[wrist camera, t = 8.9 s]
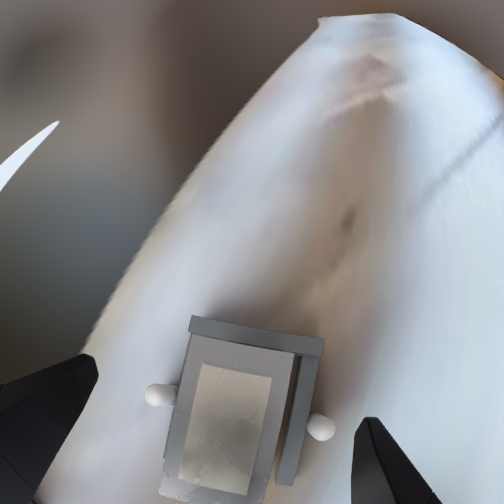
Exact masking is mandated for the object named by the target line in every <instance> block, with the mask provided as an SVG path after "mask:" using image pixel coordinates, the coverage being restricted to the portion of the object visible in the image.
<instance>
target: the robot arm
mask: <svg viewBox="0 0 504 504" xmlns="http://www.w3.org/2000/svg"><path fill="white" fill-rule="evenodd" d="M98 376H99V374H98V370H97V366H96V362H95V359H94V358H93V357H92V356H90V355H87V354H80V355H78V356H75V357H73V358H70V359H67V360H65V361H62V362H60V363H58V364H55V365H52V366H49V367H47V368H44V369H42V370H39V371H37V372H34V373H31V374H28V375H26V376H23V377H20V378H18V379H15V380H12V381H10V382H7V383H4V385H3V384H1V385H0V504H30V502H31V500H32V498H33V496H34V494H35V492H36V490H37V488H38V487H39V485H40V483H41V481H42V479H43V477H44V476H45V474H46V472H47V470H48V468H49V467H50V465H51V463H52V461H53V460H54V458H55V456H56V454H57V453H58V451H59V449H60V448H61V446H62V444H63V443H64V441H65V439H66V438H67V436H68V434H69V433H70V431H71V429H72V428H73V426H74V424H75V423H76V421H77V419H78V418H79V416H80V414H81V413H82V411H83V409H84V407H85V405H86V403H87V401H88V399H89V397H90V394H91V392H92V390H93V388H94V386H95V384H96V382H97V380H98ZM351 504H442V502H441V501H440V500H439V499H438V497H437V496H436V495H435V493H434V492H432V489H431V488H430V487H429V485H428V484H427V483H426V481H425V480H424V479H423V477H422V476H421V475H420V473H419V472H418V471H417V469H416V468H415V467H414V465H413V464H412V463H411V461H410V460H409V459H408V457H407V456H406V455H405V453H404V452H403V451H402V449H401V448H400V447H399V445H398V444H397V443H396V441H395V440H394V439H393V437H392V436H391V435H390V433H389V432H388V431H387V429H386V428H385V427H384V425H383V424H382V423H381V421H380V420H379V419H378V418H377V417H365V418H364V419H363V421H362V422H361V424H360V426H359V427H358V429H357V431H356V433H355V437H354V449H353V461H352V472H351Z"/></svg>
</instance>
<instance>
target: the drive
mask: <svg viewBox="0 0 504 504" xmlns="http://www.w3.org/2000/svg"><path fill="white" fill-rule="evenodd" d="M293 359H294V353H288V352H282V351H276V350H270V349H264V348H258V347H252V346H247V345H242V344H236V343H231V342H226V341H221V340H217V339H212V338H207V337H203V336H198V335H194V334H192V337H191V341H190V346H189V350H188V354H187V358H186V363H185V367H184V371H183V376H182V380H181V385H180V389H179V394H178V398H177V403H176V407H175V412H174V417H173V422H172V426H171V431H170V436H169V441H168V446H167V451H166V457H165V462H164V467H163V472H162V478H161V483H160V489H159V494H161V495H164V496H167V497H170V498H173V499H177V500H180V501H183V502H187V503H190V504H262V503H263V499H264V495H265V492H266V488H267V484H268V480H269V476H270V471H271V467H272V463H273V459H274V454H275V450H276V445H277V441H278V436H279V432H280V427H281V422H282V417H283V412H284V407H285V402H286V397H287V392H288V387H289V381H290V376H291V370H292V365H293Z"/></svg>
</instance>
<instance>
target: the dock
mask: <svg viewBox="0 0 504 504" xmlns="http://www.w3.org/2000/svg"><path fill="white" fill-rule="evenodd" d="M188 332H190V333H191V335H190V339H189V344H188V348H187V352H186V356H185V360H184V364H183V369H182V373H181V377H180V381H179V386H178V387H177V386H175V385H166V384H151V385H150V386H148V387H147V389H146V391H145V398H146V400H147V402H148V403H149V404H150V405H152V406H155V407H160V406H167V405H173V404H174V408H173V413H172V417H171V422H170V427H169V431H168V436H167V441H166V446H165V451H164V456H163V458H164V459H165V457H166V451H167V446H168V441H169V436H170V431H171V426H172V422H173V417H174V412H175V407H176V403H177V398H178V394H179V389H180V385H181V380H182V376H183V371H184V367H185V363H186V358H187V354H188V350H189V346H190V341H191V337H192V334H194V335H198V336H203V337H207V338H212V339H217V340H221V341H226V342H231V343H236V344H242V345H247V346H252V347H258V348H264V349H270V350H276V351H282V352H288V353H294V356H297V357H300V362H299V368H298V373H297V379H296V384H295V389H294V395H293V400H292V405H291V410H290V415H289V419H288V424H287V429H286V433H285V438H284V442H283V447H282V451H281V455H280V460H279V464H278V468H277V472H276V476H275V483H276V484H279V485H287V486H293V482H294V478H295V474H296V470H297V466H298V462H299V458H300V454H301V450H302V445H303V441H304V436H305V432H306V430H307V431H308V432H309V433H310V434H311V435H312V436H313V437H314V438H315V439H317V440H319V441H325V440H328V439H330V438H331V437H332V436H333V435H334V433H335V431H336V426H335V423H334V422H333V421H332V420H331V419H329V418H327V417H325V416H323V415H320V414H318V413H313V414H310V415H309V412H310V407H311V402H312V397H313V391H314V386H315V380H316V374H317V368H318V362H319V357H321V356H322V352H323V345H324V339H322V338H314V337H308V336H301V335H294V334H288V333H282V332H276V331H270V330H264V329H259V328H253V327H248V326H243V325H237V324H232V323H227V322H222V321H217V320H212V319H208V318H203V317H198V316H194V315H192V316H191V320H190V324H189V328H188Z"/></svg>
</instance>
